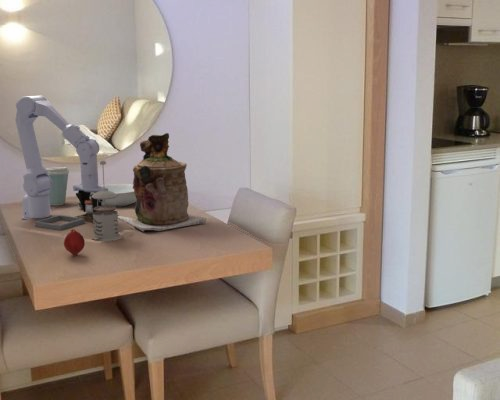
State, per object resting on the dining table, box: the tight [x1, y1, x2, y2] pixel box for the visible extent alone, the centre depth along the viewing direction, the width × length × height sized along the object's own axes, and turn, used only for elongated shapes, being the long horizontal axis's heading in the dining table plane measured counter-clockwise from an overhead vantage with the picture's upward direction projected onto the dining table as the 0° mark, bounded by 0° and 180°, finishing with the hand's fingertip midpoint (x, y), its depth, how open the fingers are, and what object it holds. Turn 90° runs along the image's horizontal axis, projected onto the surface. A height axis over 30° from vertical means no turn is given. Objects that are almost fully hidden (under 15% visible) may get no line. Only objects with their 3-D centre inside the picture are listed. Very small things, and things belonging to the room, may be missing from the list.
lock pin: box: [84, 198, 94, 217], centre depth 217 cm, size 5×5×7 cm
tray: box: [34, 214, 86, 231], centre depth 210 cm, size 12×12×2 cm
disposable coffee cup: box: [45, 166, 70, 206], centre depth 245 cm, size 11×11×15 cm
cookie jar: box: [118, 132, 207, 232], centre depth 214 cm, size 25×25×32 cm
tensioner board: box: [74, 212, 120, 223], centre depth 221 cm, size 13×13×4 cm
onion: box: [63, 228, 86, 256], centre depth 177 cm, size 6×6×8 cm
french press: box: [91, 160, 123, 242], centre depth 196 cm, size 10×12×25 cm
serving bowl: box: [90, 183, 137, 208], centre depth 244 cm, size 21×21×7 cm
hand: (91, 212), depth 217 cm, fingers closed on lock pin, 4 cm apart
